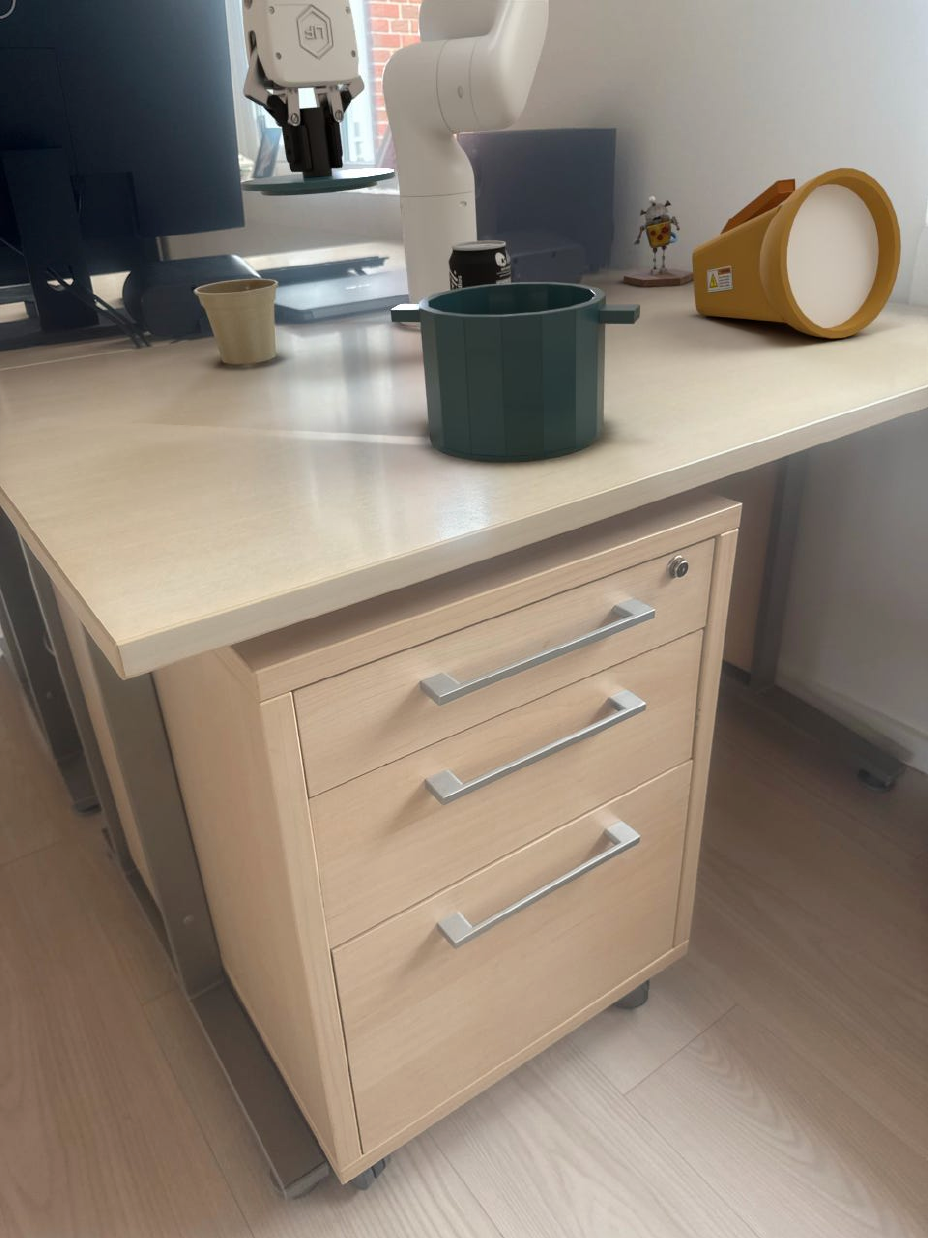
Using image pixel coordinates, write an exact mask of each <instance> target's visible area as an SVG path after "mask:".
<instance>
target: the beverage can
mask: <svg viewBox="0 0 928 1238" xmlns="http://www.w3.org/2000/svg"><path fill="white" fill-rule="evenodd" d="M506 245H507V243H506V241H504V240H498V239H497V240H495V239H493V240H491V239H487V240H484V239H483V240H477V241H469V242H462V243H457V244H454V245H452V249H453V251H452V254H451V257H450V259H449V276H450V290H453V289H459V288H466V287H473V286H480V285H488V284H502V283H512V272H511V269H512V268H511V256H510V254H509V253H508V251H507V248H506Z"/></svg>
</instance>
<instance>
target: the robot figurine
mask: <svg viewBox="0 0 928 1238" xmlns="http://www.w3.org/2000/svg"><path fill="white" fill-rule="evenodd" d="M648 203H649V204H650V205H649V206H648V207H647V208H646V211H645V210H644V209H642V208H640V211H639V217H641V216H642V215H644V216H645V217H644V220H643V224H641V225H640V226H639V230H638V231H639V232H638V234H637V237H636V239H634V240H633V245H640V243H641V238H642V234H643V231H644V233H645V237H646V240H647V242H648V245H649V247H650V248H651V249H652V252H653V255H654V256H653V259H652V262H653V268H652V269H642V270H640V269H639V270H636V271H633V272H630V273H628V274H625V275H623V283H624V284H629V285H633V286H638V287H643V288H646V287H666V286H669V287H670V286H681V285H683V284H686V283H688V282H691V281H694V278H693V271H689V270H683V269H677V268H666V265H665V260H666V256H665V251H666V250H667V247H668V246H669V245H670V244H675V243H676V242H678V239H679V238H678V235H677V234H676V233H675V232H674V231H672V225H674V226H675V227H676V231H677V232H678V231H680V230H681V227H680V226H679V225H680V224H679V222H678V219H677V217H676V216H675V215H672V216H670V215H669V214H668V213H669V211H668V208H667V207H669V206H672V204H671V202H670V201H669V200H668V199H666V201H665V204H663V203H662V202H656V197H655V196H654V195H652V196H649V198H648ZM671 238H672V239H671ZM658 248H661V250H662V255H661V260H662V261H661V263H662V264H661V267H660V268H657V263H656V262H657V258H656V254H657V252H658V250H659V249H658Z"/></svg>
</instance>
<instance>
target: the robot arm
mask: <svg viewBox="0 0 928 1238" xmlns="http://www.w3.org/2000/svg"><path fill="white" fill-rule="evenodd" d="M350 3H351V2H350V0H241V15H242V26H243V27H242V29H243V37H244V45H245V52H246V53H245V55H246V60H247V65H248V68H247V73H246V76H245V79H244V83H243V89H242V93H243V96H244V97H245V98H246V99H247V100H250V102H253V103H254V104H256V105H258V106H261V107H262V108H263V109H264V110H265V111H266V112H267V113H268V114H269V116H271V117H272V118H273V119H274V122H275V124H276V126H277V127H279V128H281V132H282V138H283V145H284V152H285V159H286V161H287V163H288V167H289V170H290V172H291V173H302V172H310V171H311V169H312V164H311V157H310V150H309V142H308V135H307V129H306V127H305V125H304V126H301V124H300V94H299V89H313V94H314V99H315V103H316V107H324V112H325V119H326V127H327V135H328V143H329V151H330V159H331V167H332V169H342V168H343V167H344V160H343V156H344V149H343V141H342V133H341V125H340V123H343V122H344V119H345V113H346V111H347V109H348V108H349V107H350V104H351V102H352V100H354V99H356V98H357V97H358V96H359V95H360V94H361V93H362V92H363V91H364V90H365V87H366V86H365V83H364V80H363V79H362V77H361V74H360V70H361V69H360V58H359V50H358V43H357V35H356V31H355V25H354V20H353V13H352V9H351V4H350ZM549 3H550V2H549V0H421V4H420V7H419V11H418V17H417V26H418V27H417V31H418V36H419V40H420V42H416V43H411V44H408V45H405V46H403V47H401V48H399V49H398V50H396V51H395V52H394V53H392V54H391V56H390V57H389V58H388V59H387V61H386V62H385V64H384V67H383V71H382V75H381V92H382V99H383V105H384V108H385V112H386V117H387V120H388V124H389V129H390V132H391V136H392V137H391V138H392V140H393V141H392V142H393V146H394V154H395V160H396V170H397V179H398V190H399V203H400V214H401V223H402V224H401V225H402V237H403V248H404V259H405V271H406V272H405V273H406V283H407V293H408V304H419V301H421V300H423V299H425V298H427V297H429V296H431V295H433V294H437V293H441V292H445V291H449V290H450V276H449V259H450V257H451V254H452V251H453V249H452V245H454V244H457V243H462V242H469V241H478V231H477V211H476V192H475V191H476V186H475V183H476V182H475V174H474V170H473V166H472V164H471V162H470V159H469V157H468V155H467V154H466V152H465V151H464V149H463V148H462V146H461V144H460V142H459V141H458V140H457V138H456V136H455V135H457V134H460V133H461V134H463V133H478V132H480V133H481V132H492V131H501V130H505V129H508V128H510V127H512V126H513V125H514V124H515V123H516V122H517V121H518V120H519V119H520V117H521V115H522V113H523V111H524V109H525V107H526V104H527V100H528V97H529V94H530V91H531V88H532V84H533V81H534V78H535V74H536V71H537V67H538V64H539V62H540V59H541V55H542V51H543V48H544V45H545V41H546V37H547V32H548V27H549V18H550V17H549V16H550V4H549ZM340 86H341V87H340ZM270 90H271V91H272V92H270ZM399 323H400V324H403V325H404V326H405V325H406V326H411V327H418V328H421V324H420V322H399Z"/></svg>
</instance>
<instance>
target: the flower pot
mask: <svg viewBox="0 0 928 1238" xmlns="http://www.w3.org/2000/svg"><path fill="white" fill-rule="evenodd" d="M278 286H279V281H278V280H275V279H271V278H244V279H243V278H242V279H232V280H224V281H218V282H213V283H208V284H204V285H201V286H198V287H196V288H195V289H194V290H193V293H194V295H196V296H197V297H198V299H199V302H200V305H201V306H202V307H203V308H204V311H205V313H206V316H207V319H208V322H209V326H210V328H211V331H212V334H213V337H214V340H215V342H216V345H217V346H216V347H217V348H218V352H219V355H220V358H221V361H222V362H223V363H224V364H228V365H247V364H256V363H261V362H265V361H269V360H271V359H274V358H275V357H276V356H277V350H276V347H277V345H276V325H275V324H276V321H275V300H276V297H277V287H278Z"/></svg>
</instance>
